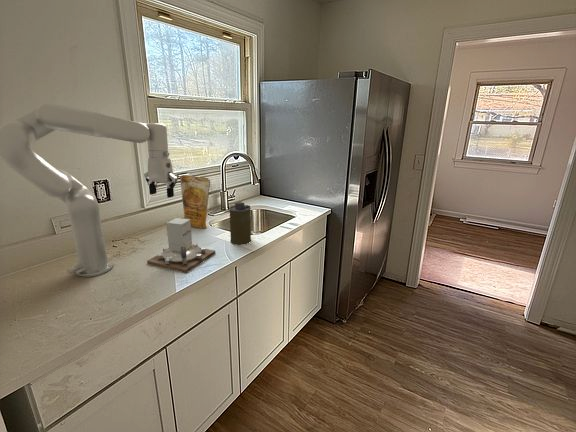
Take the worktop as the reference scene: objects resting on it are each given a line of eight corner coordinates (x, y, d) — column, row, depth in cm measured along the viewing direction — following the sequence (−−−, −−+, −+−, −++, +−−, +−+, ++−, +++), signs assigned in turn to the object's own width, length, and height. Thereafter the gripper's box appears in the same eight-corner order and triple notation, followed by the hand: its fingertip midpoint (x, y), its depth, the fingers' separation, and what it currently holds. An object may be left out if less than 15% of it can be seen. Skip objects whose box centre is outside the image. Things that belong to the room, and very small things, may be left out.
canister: (239, 246, 146) (238, 206, 140) (226, 241, 153) (224, 202, 147) (256, 240, 154) (255, 202, 148) (243, 235, 161) (242, 198, 155)
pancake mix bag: (188, 221, 181) (184, 174, 173) (213, 226, 173) (210, 177, 165) (179, 224, 175) (175, 175, 167) (205, 229, 167) (202, 179, 159)
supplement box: (183, 252, 131) (181, 224, 127) (168, 250, 133) (165, 222, 129) (192, 245, 138) (190, 219, 134) (178, 243, 140) (175, 217, 136)
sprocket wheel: (209, 260, 128) (208, 247, 126) (159, 268, 121) (158, 254, 119) (201, 243, 145) (200, 231, 143) (157, 249, 137) (156, 237, 135)
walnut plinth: (186, 273, 121) (185, 265, 120) (147, 263, 128) (146, 256, 127) (215, 253, 139) (215, 246, 138) (179, 246, 146) (179, 239, 144)
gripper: (181, 155, 125) (184, 196, 130) (150, 152, 131) (153, 191, 136) (168, 157, 118) (171, 200, 123) (135, 153, 125) (139, 194, 130)
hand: (161, 195), depth 130 cm, fingers open, 9 cm apart
